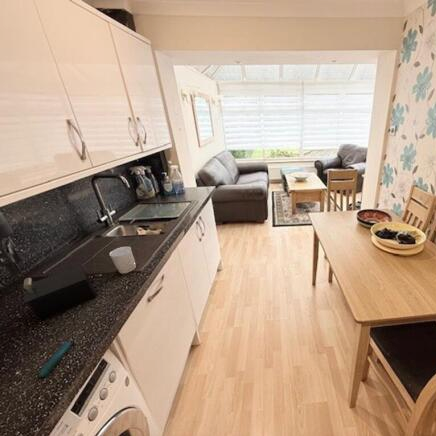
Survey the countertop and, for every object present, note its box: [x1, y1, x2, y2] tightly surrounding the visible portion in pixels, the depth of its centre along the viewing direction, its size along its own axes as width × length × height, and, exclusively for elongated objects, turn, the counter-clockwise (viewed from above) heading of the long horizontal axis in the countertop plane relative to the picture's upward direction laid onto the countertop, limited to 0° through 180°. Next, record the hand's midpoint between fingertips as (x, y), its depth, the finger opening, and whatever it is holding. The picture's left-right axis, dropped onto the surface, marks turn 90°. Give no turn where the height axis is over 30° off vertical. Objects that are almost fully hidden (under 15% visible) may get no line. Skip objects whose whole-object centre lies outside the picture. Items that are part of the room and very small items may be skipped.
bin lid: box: [23, 264, 87, 305], centre depth 87 cm, size 16×13×5 cm
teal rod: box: [38, 341, 73, 378], centre depth 69 cm, size 10×2×2 cm, turn 6°
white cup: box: [109, 246, 137, 274], centre depth 107 cm, size 8×8×10 cm
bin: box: [28, 267, 96, 322], centre depth 90 cm, size 16×13×9 cm
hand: (17, 267), depth 79 cm, fingers open, 8 cm apart
